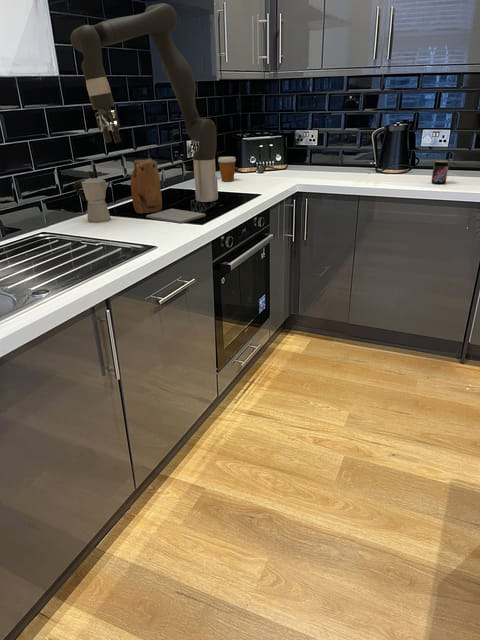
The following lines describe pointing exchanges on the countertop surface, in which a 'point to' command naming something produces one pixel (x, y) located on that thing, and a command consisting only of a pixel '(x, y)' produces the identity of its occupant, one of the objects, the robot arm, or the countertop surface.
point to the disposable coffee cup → (227, 168)
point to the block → (146, 187)
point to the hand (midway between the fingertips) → (113, 142)
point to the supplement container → (440, 172)
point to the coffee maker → (94, 198)
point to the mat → (176, 215)
